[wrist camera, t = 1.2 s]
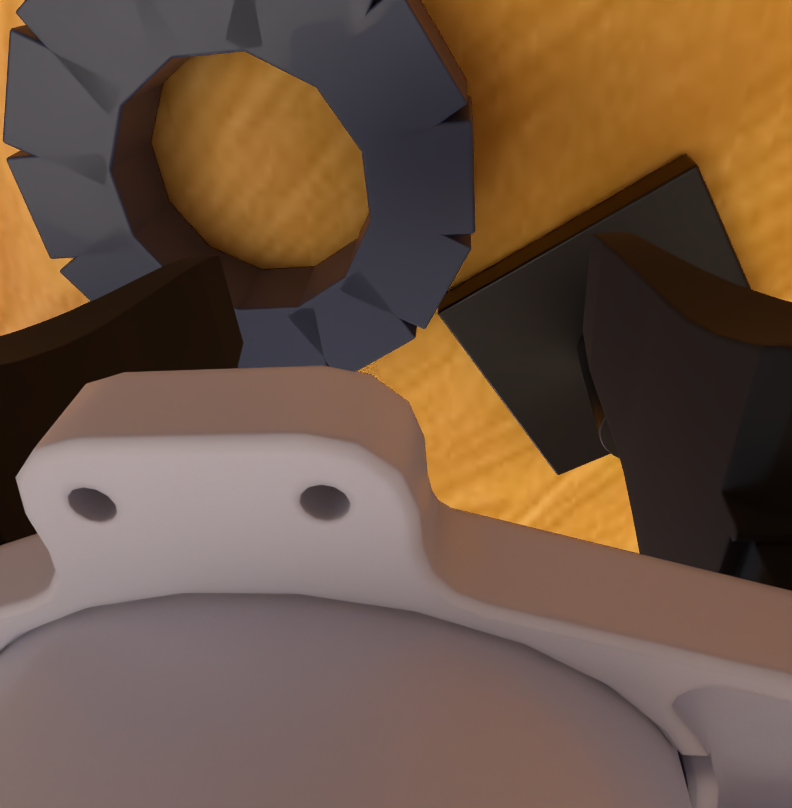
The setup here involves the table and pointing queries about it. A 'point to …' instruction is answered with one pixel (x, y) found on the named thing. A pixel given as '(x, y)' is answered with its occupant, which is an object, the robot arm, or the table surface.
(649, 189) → the peg stand
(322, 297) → the hoop
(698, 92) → the table surface
